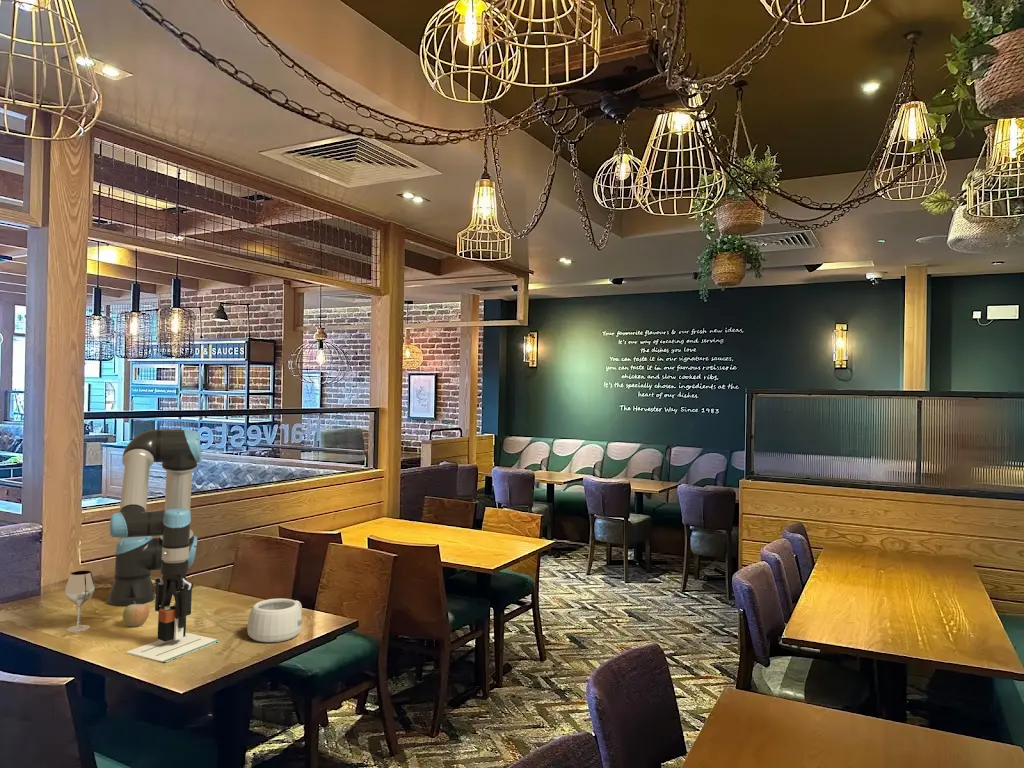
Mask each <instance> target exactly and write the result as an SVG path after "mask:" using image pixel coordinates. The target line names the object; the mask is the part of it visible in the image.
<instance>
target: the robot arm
mask: <svg viewBox="0 0 1024 768" xmlns="http://www.w3.org/2000/svg"><path fill="white" fill-rule="evenodd" d="M200 439H201V438H200V433H199V432H198V431H197V430H192V429H191V430H190V429H189V430H188V429H150V430H146V431H143V432H141V433H140V434H138V435H136V436H135V437H133V438H132V439H131V440H130V441H129V443H128V444H127V445H126V446H125V448H124V450H123V453H122V458H121V459H122V461H121V462H122V465H123V466H124V470H123V471H124V472H123V479H122V487H121V488H122V489H121V494H120V503H119V512H115V513H112V514H111V516H110V520H109V535H110V537H112V538H120V539H119V540H118V541H117V542H116V546H115V547H116V548H115V552H114V554H115V562H114V581H113V583H112V586H111V589H110V592H109V594H108V596H107V603H108V605H111V606H115V607H116V606H119V607H120V606H121V607H127V606H129V605H132V604H135V603H136V604H147V603H149V602H151V601H154V600H155V601H154V611H155V612H158V613H159V609H162V608H164V607H165V606H170V605H171V602H172V597H174V604H175V605H176V612H177V617H175V626H174V640H177V639H180V638H183V629H184V626H185V617H186V618H187V616H190V615H192V595H193V594H192V593H193V587H194V582H189V581H187V577H186V574H187V573H188V572H189V568H190V567H191V566H192V565H193V564H194V563H195V562H194V561H195V557H196V553H197V545H198V537H197V535H194V531H193V530H192V529H191V522H192V517H191V502H192V484H193V471H194V470H195V469H197V467H198V463H201V462H202V459H203V457H202V449H201V440H200ZM154 463H161V467H162V469H163V470H165V475H166V476H165V492H164V494H165V497H164V511H147V505H148V503H147V502H148V495H149V494H148V493H149V481H150V479H149V478H150V468H151V467H152V465H153V464H154ZM159 570H160V574H161V575H162V577H159V578H155V580H154V582H155V588H154V584H153V581H152V578H151V577H152V576H151V575H152V572H151V571H159ZM134 601H135V603H134ZM181 612H182V613H181Z"/></svg>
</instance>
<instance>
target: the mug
mask: <svg viewBox="0 0 1024 768" xmlns="http://www.w3.org/2000/svg"><path fill="white" fill-rule="evenodd" d="M302 611H303V606H302V603H301V602H300V601H299V600H297V599H296V600H294V599H290V598H269V599H263V600H260V601H258V602H256V603H254V605H252V608H251V609H250V613H249V616H248V621H247V622H248V623H247V629H246V631H247V635H248V636H249V638H251V639H252V640H253V641H256V642H260V643H280V642H284V641H288V640H291V639H294V638H295V637H297V636H298V635H299V634H300V633H301V631H302V627H303V617H302V616H303V615H302Z"/></svg>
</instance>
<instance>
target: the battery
mask: <svg viewBox="0 0 1024 768" xmlns="http://www.w3.org/2000/svg"><path fill="white" fill-rule="evenodd" d="M181 613H182V612H181ZM157 616H158V617H157V619H158V621H157V639H158V640H162V641H164V642H166V641H170V640H173V639H174V626H175V617H177V612H176V605H175V603H174V604H173V605H171V606H165V607H164V608H162V609H159V612H158V615H157ZM186 629H187V616H186V617H185V626H184V629H183V637H184V636H185V634H186V633H187V632H186Z"/></svg>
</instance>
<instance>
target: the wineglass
mask: <svg viewBox="0 0 1024 768" xmlns="http://www.w3.org/2000/svg"><path fill="white" fill-rule="evenodd" d="M95 591H96V584H95V580H94V576H93V572H92V570H76V571H72V572H71V573H70V574H69V577H68V579H67V583H66V586H65V591H64V594H65V597H66V598H67V600H69V601H70V602H72V603H74V604H75V605H76V607H77V620H76V625H73V626H70V627H68V628H66V632H67V633H82V632H85V631H88V630H90V629H91V626H90V625H88V624H81V613H82V606H83V605H84V604H85V603H86V602H87V601H88V600H89V599H90V598H91V597H93V596H94V593H95Z"/></svg>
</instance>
